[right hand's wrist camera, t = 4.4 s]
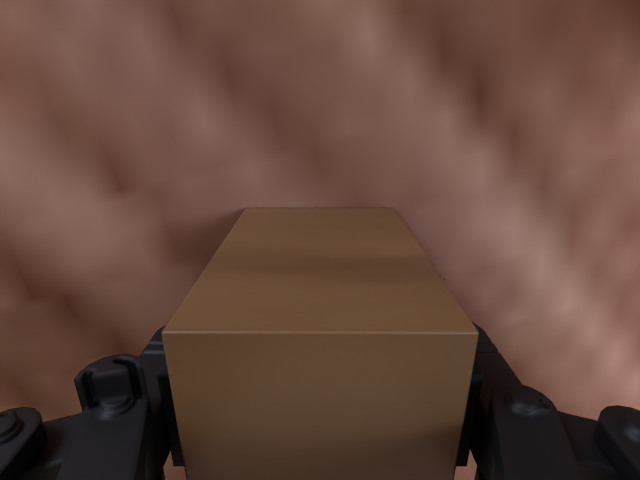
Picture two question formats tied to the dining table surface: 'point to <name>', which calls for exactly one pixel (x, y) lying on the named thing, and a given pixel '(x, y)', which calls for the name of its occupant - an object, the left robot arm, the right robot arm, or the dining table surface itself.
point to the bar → (320, 353)
